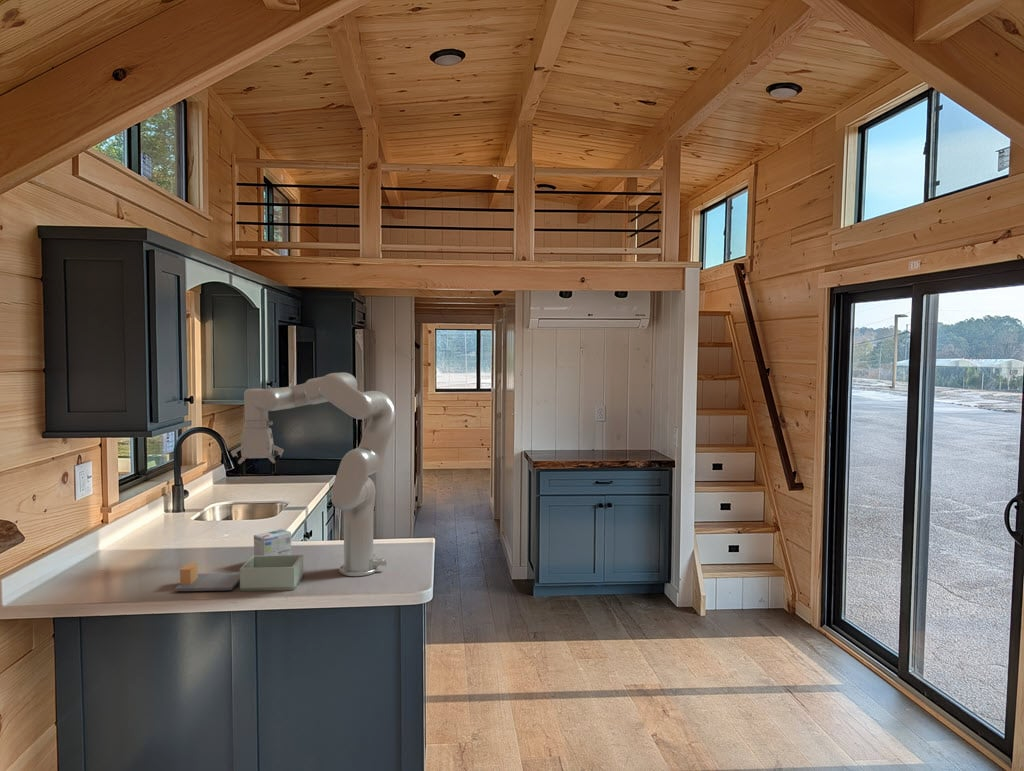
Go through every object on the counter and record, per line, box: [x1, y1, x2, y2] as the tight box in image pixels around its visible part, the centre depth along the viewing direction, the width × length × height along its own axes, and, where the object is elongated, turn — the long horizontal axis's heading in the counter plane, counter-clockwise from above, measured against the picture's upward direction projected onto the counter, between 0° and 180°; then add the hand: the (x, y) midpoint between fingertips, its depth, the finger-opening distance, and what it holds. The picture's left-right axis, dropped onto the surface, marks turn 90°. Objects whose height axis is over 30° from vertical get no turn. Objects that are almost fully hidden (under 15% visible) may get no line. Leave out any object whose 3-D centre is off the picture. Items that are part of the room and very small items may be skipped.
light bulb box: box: [253, 528, 292, 556], centre depth 236 cm, size 11×7×11 cm, turn 141°
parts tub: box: [239, 554, 304, 592], centre depth 217 cm, size 16×13×8 cm
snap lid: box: [174, 562, 240, 592], centre depth 215 cm, size 16×14×6 cm
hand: (257, 474), depth 237 cm, fingers open, 9 cm apart
